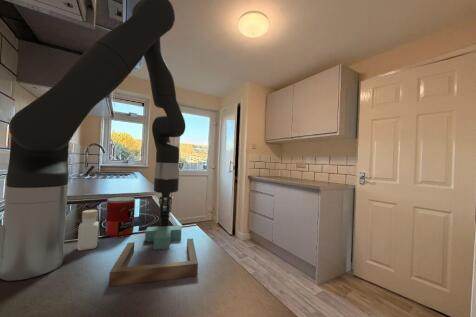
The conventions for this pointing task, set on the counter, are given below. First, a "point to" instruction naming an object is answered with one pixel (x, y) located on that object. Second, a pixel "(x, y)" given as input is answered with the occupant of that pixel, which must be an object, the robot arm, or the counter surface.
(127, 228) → the canned food
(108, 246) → the counter surface
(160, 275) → the tray
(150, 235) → the teal T block
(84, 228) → the salt shaker
